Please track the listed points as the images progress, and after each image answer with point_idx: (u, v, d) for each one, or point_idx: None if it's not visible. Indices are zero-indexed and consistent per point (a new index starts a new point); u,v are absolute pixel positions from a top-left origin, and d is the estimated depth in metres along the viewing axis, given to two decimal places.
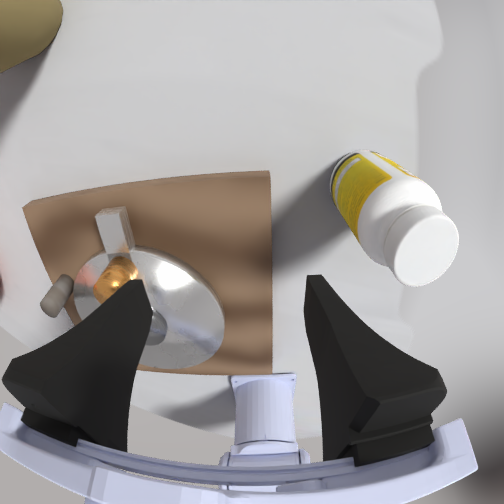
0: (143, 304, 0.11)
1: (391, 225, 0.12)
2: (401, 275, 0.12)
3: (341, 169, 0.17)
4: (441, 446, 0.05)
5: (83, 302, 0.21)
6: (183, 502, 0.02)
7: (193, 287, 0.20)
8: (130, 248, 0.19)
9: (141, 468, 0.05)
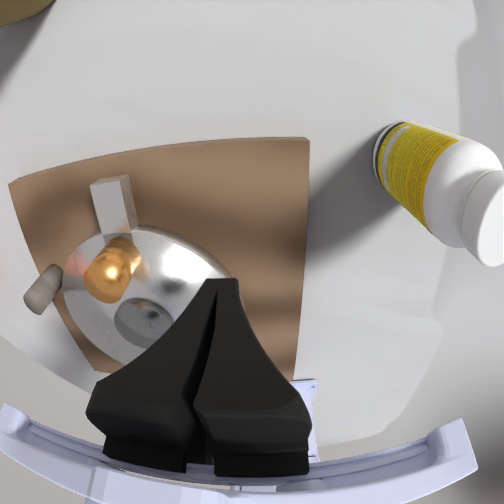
0: None
1: (470, 190, 0.08)
2: (482, 252, 0.08)
3: (389, 137, 0.14)
4: (441, 446, 0.05)
5: (74, 297, 0.17)
6: (183, 502, 0.02)
7: (210, 277, 0.16)
8: (132, 227, 0.15)
9: (141, 468, 0.05)
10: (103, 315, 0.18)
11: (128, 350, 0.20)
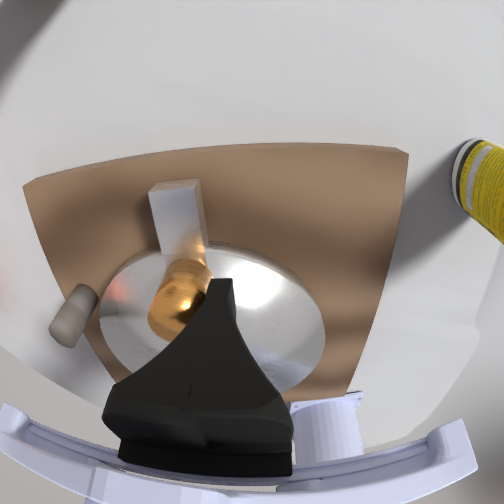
0: (233, 304, 0.11)
1: None
2: None
3: (473, 156, 0.11)
4: (441, 446, 0.05)
5: (114, 326, 0.15)
6: (183, 502, 0.02)
7: (298, 301, 0.14)
8: (205, 245, 0.13)
9: (141, 468, 0.05)
10: (152, 346, 0.16)
11: None
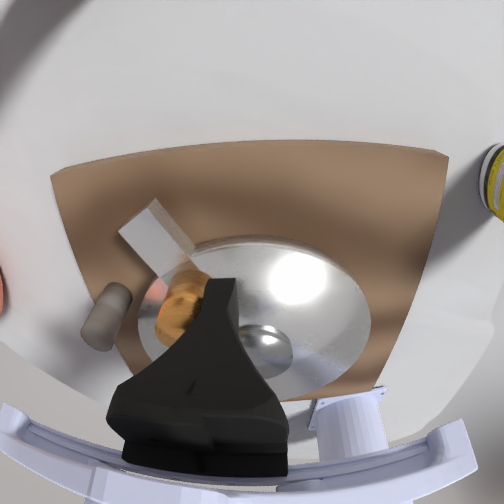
0: (236, 304, 0.11)
1: None
2: None
3: (500, 160, 0.11)
4: (441, 446, 0.05)
5: None
6: (183, 502, 0.02)
7: (305, 265, 0.13)
8: (189, 252, 0.13)
9: (141, 468, 0.05)
10: None
11: None
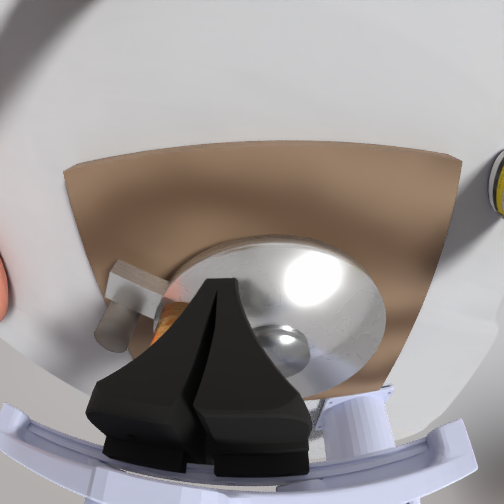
0: None
1: None
2: None
3: None
4: (441, 446, 0.05)
5: None
6: (183, 502, 0.02)
7: (256, 259, 0.12)
8: (161, 290, 0.14)
9: (141, 468, 0.05)
10: None
11: (295, 383, 0.18)
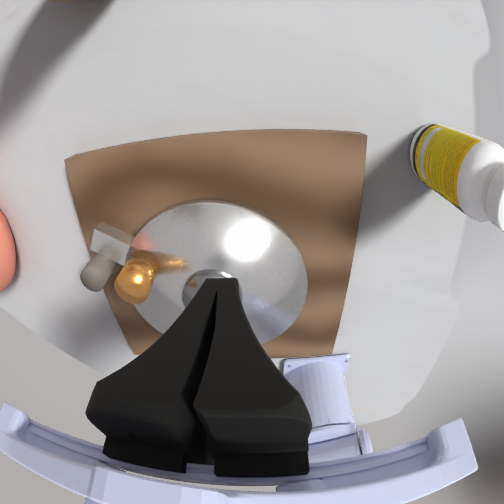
0: None
1: (491, 176, 0.10)
2: (501, 220, 0.10)
3: (424, 136, 0.16)
4: (441, 446, 0.05)
5: (166, 327, 0.23)
6: (183, 502, 0.02)
7: (190, 214, 0.17)
8: (129, 242, 0.19)
9: (141, 468, 0.05)
10: None
11: None
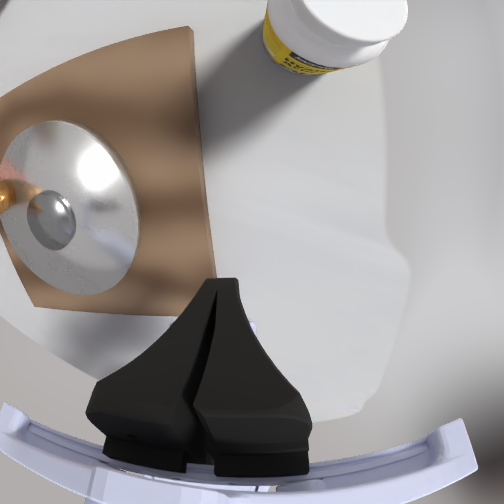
0: None
1: None
2: (320, 13, 0.06)
3: None
4: (441, 446, 0.05)
5: (33, 263, 0.18)
6: (183, 502, 0.02)
7: (27, 136, 0.13)
8: None
9: (141, 468, 0.05)
10: (47, 252, 0.18)
11: (86, 266, 0.18)
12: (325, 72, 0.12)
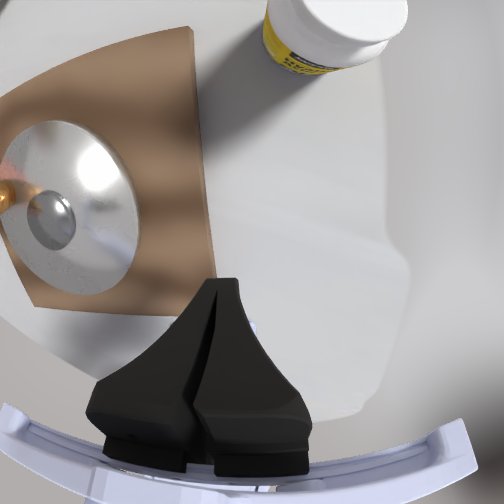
0: None
1: None
2: (320, 13, 0.06)
3: None
4: (441, 446, 0.05)
5: (33, 263, 0.18)
6: (183, 502, 0.02)
7: (27, 136, 0.13)
8: None
9: (141, 468, 0.05)
10: (47, 252, 0.18)
11: (86, 266, 0.18)
12: (325, 72, 0.12)
